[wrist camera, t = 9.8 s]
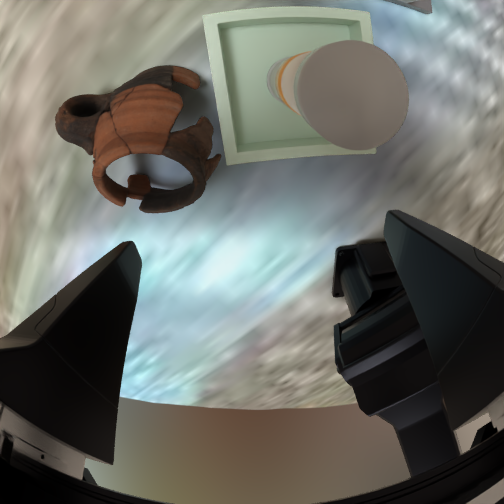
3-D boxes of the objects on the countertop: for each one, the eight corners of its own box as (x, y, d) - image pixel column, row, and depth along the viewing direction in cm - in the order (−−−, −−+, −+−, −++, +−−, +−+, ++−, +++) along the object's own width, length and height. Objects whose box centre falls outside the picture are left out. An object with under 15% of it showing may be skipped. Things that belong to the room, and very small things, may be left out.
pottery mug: (242, 75, 17) (246, 153, 14) (197, 153, 25) (192, 230, 21) (85, 40, 12) (26, 112, 8) (76, 130, 19) (46, 207, 16)
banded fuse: (325, 92, 17) (420, 127, 7) (281, 112, 18) (331, 168, 8) (302, 50, 15) (382, 27, 5) (256, 70, 16) (277, 65, 6)
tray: (361, 143, 20) (376, 153, 17) (228, 154, 20) (226, 165, 18) (354, 18, 13) (369, 12, 11) (207, 23, 14) (202, 15, 12)
